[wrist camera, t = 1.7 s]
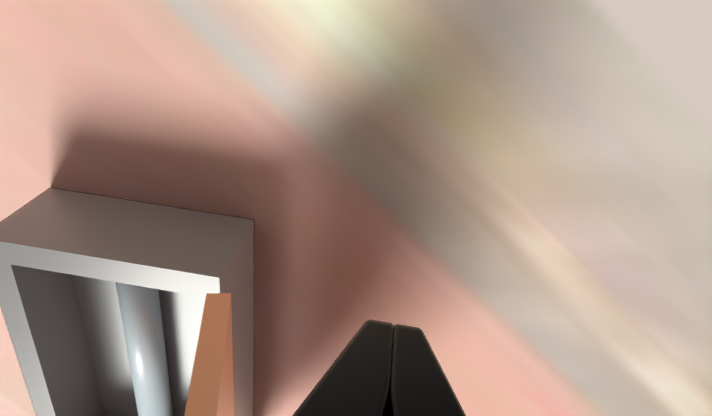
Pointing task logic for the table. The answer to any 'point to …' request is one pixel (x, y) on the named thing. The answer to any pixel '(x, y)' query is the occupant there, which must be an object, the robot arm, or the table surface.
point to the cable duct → (121, 301)
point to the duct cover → (213, 361)
